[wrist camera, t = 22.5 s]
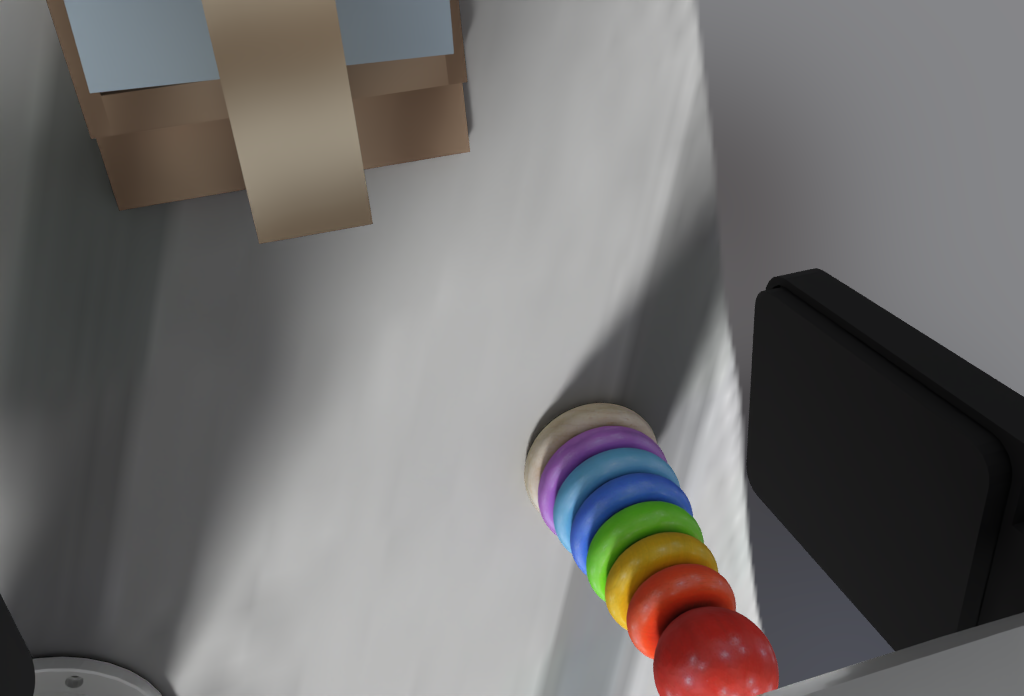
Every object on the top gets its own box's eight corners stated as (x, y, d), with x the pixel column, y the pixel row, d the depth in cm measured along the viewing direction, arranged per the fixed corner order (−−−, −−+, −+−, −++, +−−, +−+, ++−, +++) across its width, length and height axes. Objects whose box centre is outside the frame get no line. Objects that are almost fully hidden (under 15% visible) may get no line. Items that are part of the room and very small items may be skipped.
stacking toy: (646, 381, 49) (850, 616, 33) (651, 492, 53) (836, 751, 37) (512, 416, 47) (658, 681, 31) (527, 528, 51) (664, 814, 35)
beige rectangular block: (160, -204, 25) (147, -224, 21) (284, -213, 26) (295, -233, 22) (254, 195, 31) (259, 244, 27) (353, 179, 32) (372, 223, 27)
